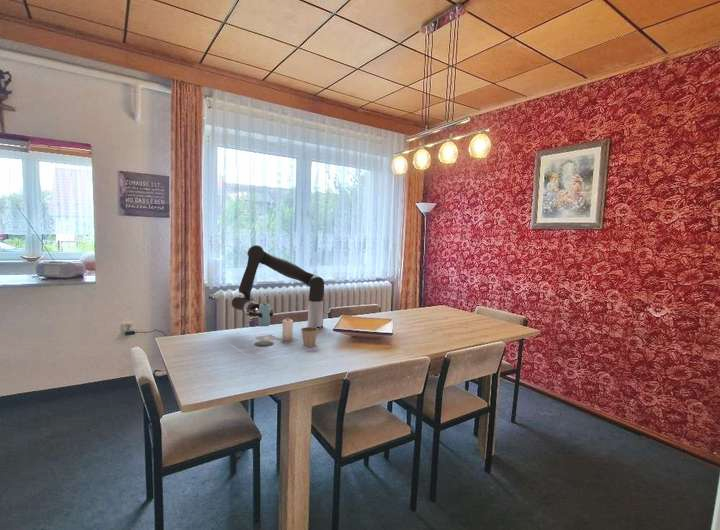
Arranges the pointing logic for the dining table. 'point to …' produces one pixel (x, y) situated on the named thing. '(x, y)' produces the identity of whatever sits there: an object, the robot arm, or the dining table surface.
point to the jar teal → (264, 314)
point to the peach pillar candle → (287, 329)
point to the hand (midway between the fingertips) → (266, 315)
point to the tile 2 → (287, 341)
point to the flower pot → (309, 335)
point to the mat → (264, 343)
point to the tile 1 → (266, 338)
